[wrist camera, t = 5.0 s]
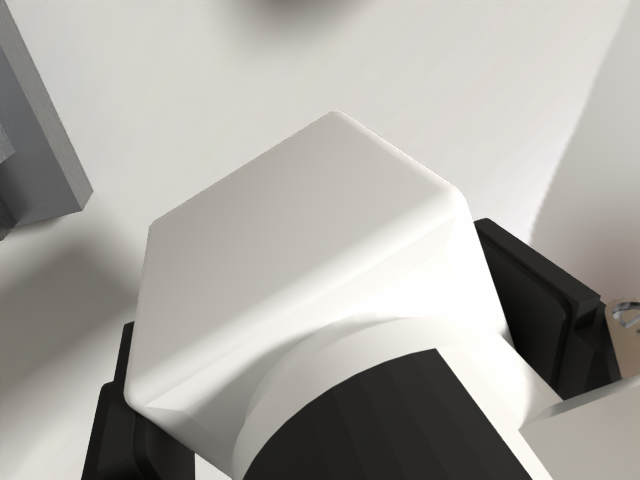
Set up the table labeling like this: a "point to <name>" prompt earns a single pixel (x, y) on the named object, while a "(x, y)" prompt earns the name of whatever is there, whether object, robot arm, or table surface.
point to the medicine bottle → (331, 323)
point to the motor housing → (32, 142)
